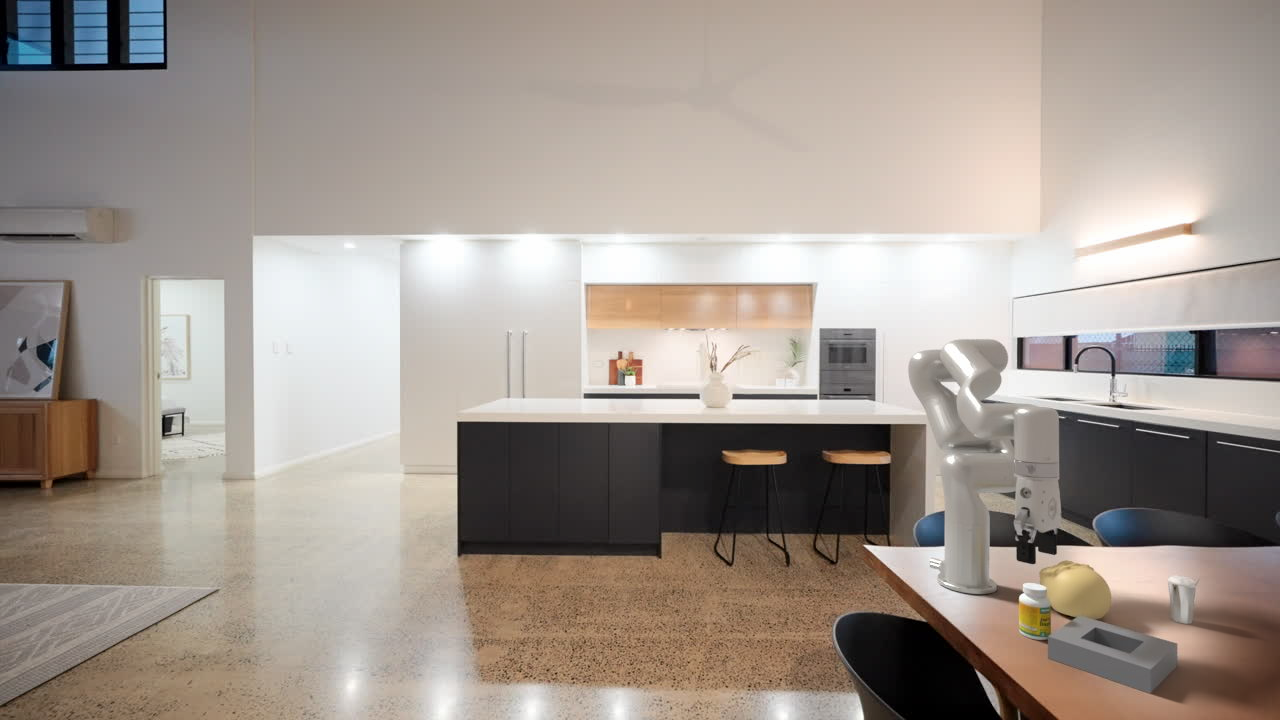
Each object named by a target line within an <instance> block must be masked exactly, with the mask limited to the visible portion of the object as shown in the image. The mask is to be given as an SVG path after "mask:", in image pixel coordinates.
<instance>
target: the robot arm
mask: <svg viewBox="0 0 1280 720" xmlns="http://www.w3.org/2000/svg"><path fill="white" fill-rule="evenodd" d="M1008 363H1009V355H1008V351H1007V349H1006V347H1005V346H1004V345H1003V344H1002V343H1001V342H1000V341H998V340H995V339H990V338H985V339H984V338H982V339H981V338H980V339H979V338H974V339H973V338H972V339H969V338H964V339H963V338H960V339H959V338H958V339H954V340H951V341H949V342H948V343H946V344H945V345H944V346H943V347H942V348H941V349H940V348H939V349H926V350H922V351H918V352H916V353H914V354H913V355H912V356H911V358H910V359H909V361H908V369H907V371H908V372H907V373H908V379H909V383H910V386H911V388H912V390H913V392H914V394H915V396H916V397H917V399H918V401H919V402H920V404H921V405H922V407H923V409H924V411H925V414H926V417H927V420H928V422H929V426H930V428H931V431H932V434H933V436H934V439H935V442H936V444H937V446H938V447H939V449H940V450H941V451H943V452H947V453H949V454H948V455H945V457H943V459H942V461H941V462H940V466H939V469H940V471H939V472H940V477H941V483H942V488H943V497H944V559H943V560H941V559H939V558H935V557H931V558H930V559H929V568H930V569H934V570H938V571H939V574H937V576H936V578H937V583H939V584H940V585H941V586H942V587H945V589H946V588H947V589H949V590H951V591H956V592H959V593H965V594H970V595H988V594H992V593H995V592H996V591H997V588H998V587H997V584H998V583H997V582H996V581H994V580H993V579H991V578H990V553H991V552H990V546H991V545H990V542H991V540H990V538H991V537H990V530H991V529H990V525H991V523H990V521H991V519H990V518H991V517H990V511H989V509H988V506H987V505H986V503H984V501H983V500H982V499H981V497H980V495H979V494H985V493H986V494H987V493H988V494H997V493H998V494H1002V493H1003V494H1006V493H1007V494H1008V493H1013V492H1015V495H1014V496H1015V499H1014V500H1015V501H1014V520H1013V526H1014V535H1015V538H1014V539H1015V542H1016V543H1015V544H1016V545H1015V547H1016V558H1015V559H1016V561H1017V562H1019V563H1020V562H1021V563H1024V564H1025V563H1026V564H1029V565H1035V564H1037V561H1036V560H1037V554H1036V553H1037V551H1038V552H1039V553H1042V554H1048V555H1053V556H1055V555H1057V554H1058V546H1057V545H1058V543H1057V541H1058V538H1057V536H1058V535H1057V534H1058V527H1060V526H1061V524H1062V505H1061V491H1060V486H1059V485H1060V484H1059V480H1060V421H1059V419H1060V418H1059V417H1060V416H1059V412H1058V411H1057V410H1056V409H1055V408H1053V407H1045V406H1037V405H1035V404H1032V403H1011V402H1009V403H1006V402H1005V403H1003V402H1002V403H1001V402H997V403H996V402H994V403H993V402H992V403H991V402H990V403H984V402H983V401H984V400H986V399H987V398H990V397H991V396H993V395H994V394H995V393H996V392H997V391H998V390H999V389H1000V387H1001V384H1002V381H1003V380H1002V379H1003V378H1002V375H1001V373H1003V372H1004V370H1005V369H1006V368H1007V366H1008ZM942 383H956V384H957V385H958V386H959V387H960V388H959V390H958V391H957V394H955V393H954V392H953V391H952V390H951V389H949V388H948V387H946V386H945V385H943V384H942ZM1012 441H1013V444H1012ZM1028 532H1029V533H1028ZM1036 535H1037V543H1036V542H1034V541H1035V537H1036ZM1036 545H1037V546H1036ZM1036 550H1037V551H1036Z"/></svg>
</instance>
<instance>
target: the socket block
mask: <svg viewBox="0 0 1280 720" xmlns="http://www.w3.org/2000/svg"><path fill="white" fill-rule="evenodd" d="M1047 659H1050V660H1052V661H1055V662H1058V663H1060V664H1064V665H1066V666H1069V667H1073V668H1074V669H1078V670H1082V671H1083V672H1087V673H1090V674H1092V675H1095V676H1098V677H1101V678H1105V679H1106V680H1110V681H1112V682H1114V683H1115V682H1116V683H1118V684H1120V685H1124V686H1127V687H1131V688H1133V689H1136V690H1139V691H1141V692H1144V693H1147V694H1149V695H1150V694H1152V693H1153V691H1155V690H1156V688H1157V687H1158V686H1159V685H1160V684H1161V683H1163V682H1164V680H1165V679H1166V678H1167V677H1168V676H1170V674H1171V673H1172V672H1173V671H1174V670H1175V669H1176V668H1177V667H1178V642H1174V641H1170V640H1166V639H1163V638H1159V637H1156V636H1153V635H1149V634H1146V633H1142V632H1139V631H1136V630H1135V631H1134V630H1132V629H1129V628H1124V627H1121V626H1118V625H1114V624H1111V623H1107V622H1104V621H1100V620H1098V619H1096V620H1094V619H1091V618H1087V617H1084V616H1078V617H1074V618H1073V619H1072V620H1071V621H1069V622H1067V623H1066V624H1064V625H1063V626H1061V627H1060V628H1058V629H1057V630H1055V631H1054V632H1051V635H1049V636H1048V639H1047Z"/></svg>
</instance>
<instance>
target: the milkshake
mask: <svg viewBox="0 0 1280 720" xmlns="http://www.w3.org/2000/svg"><path fill="white" fill-rule="evenodd" d="M1201 578H1202V576H1201V577H1199V578H1198V580H1197V581H1196V580H1193V579H1192V578H1190V577H1187V576H1183V575H1177V574H1174V575H1170V576H1168V578H1167V585H1168V592H1169V601H1170V603H1169V604H1170V617H1171V620H1173V621H1174V622H1176V623H1180V624H1185V625H1189V624H1193V616H1194V605H1195V598H1196V593H1197V586H1198V583H1199V582H1200V580H1201Z"/></svg>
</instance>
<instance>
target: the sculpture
mask: <svg viewBox="0 0 1280 720" xmlns="http://www.w3.org/2000/svg"><path fill="white" fill-rule="evenodd" d="M1038 574H1039V578H1040V579H1039V584H1040V585H1043V586H1045V587H1046V588H1047V595H1046V596H1045V597H1047V598H1048V599H1049V600H1050V602H1051V608H1052V609H1053V610H1054V611H1056V612H1057V613H1060V614H1063V615H1066V616H1070V617H1074V618H1076V617H1078V616H1084V617H1087V618H1091V619H1094V620H1099V619H1102V618H1103V617H1104V616H1106V615H1107V614H1108V612H1109V610H1110V609H1111V605H1112V599H1113V598H1112V592H1111V588H1110V586H1109V584H1108V582H1107V580H1105V578H1104V577H1103V576H1102V575H1101V574H1100V573H1098V572H1097V571H1096V570H1095V569H1094V568H1093V567H1092V566H1090V565H1089V564H1084V563H1078V562H1073V561H1070V560H1063V561H1060V562H1059V563H1057V564H1054V565H1052V566H1047V567H1042V569H1041V570H1040V571H1039V573H1038Z"/></svg>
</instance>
